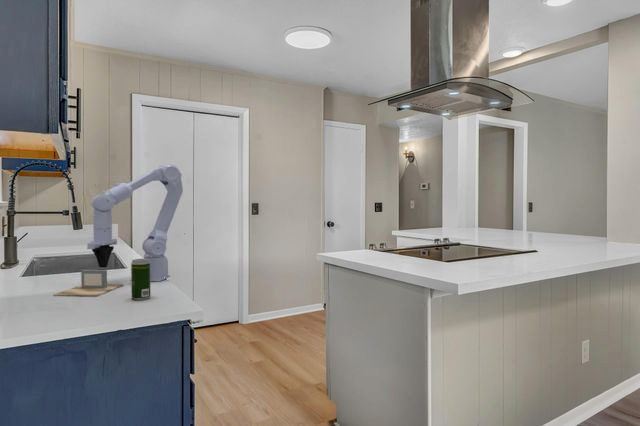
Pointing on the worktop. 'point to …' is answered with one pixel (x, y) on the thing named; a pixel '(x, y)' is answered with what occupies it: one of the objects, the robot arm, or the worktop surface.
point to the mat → (88, 291)
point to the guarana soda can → (140, 279)
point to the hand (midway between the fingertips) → (103, 267)
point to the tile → (94, 279)
